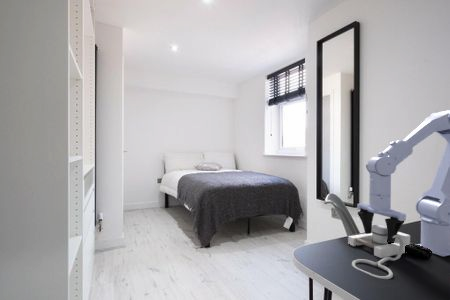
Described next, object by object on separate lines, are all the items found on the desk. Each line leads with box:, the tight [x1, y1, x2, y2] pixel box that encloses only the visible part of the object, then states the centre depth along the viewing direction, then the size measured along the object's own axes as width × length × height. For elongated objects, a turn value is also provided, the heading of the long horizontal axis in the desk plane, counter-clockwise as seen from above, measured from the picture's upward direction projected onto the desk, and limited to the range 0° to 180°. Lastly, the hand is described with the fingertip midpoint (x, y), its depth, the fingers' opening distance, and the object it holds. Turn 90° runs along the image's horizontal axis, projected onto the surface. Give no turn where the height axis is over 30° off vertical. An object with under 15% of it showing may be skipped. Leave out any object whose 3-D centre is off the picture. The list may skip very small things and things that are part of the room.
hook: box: [351, 235, 403, 280], centre depth 65 cm, size 7×9×20 cm
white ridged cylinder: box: [372, 224, 388, 246], centre depth 77 cm, size 4×4×6 cm
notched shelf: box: [347, 224, 411, 259], centre depth 76 cm, size 13×11×5 cm
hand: (379, 237), depth 77 cm, fingers open, 7 cm apart
